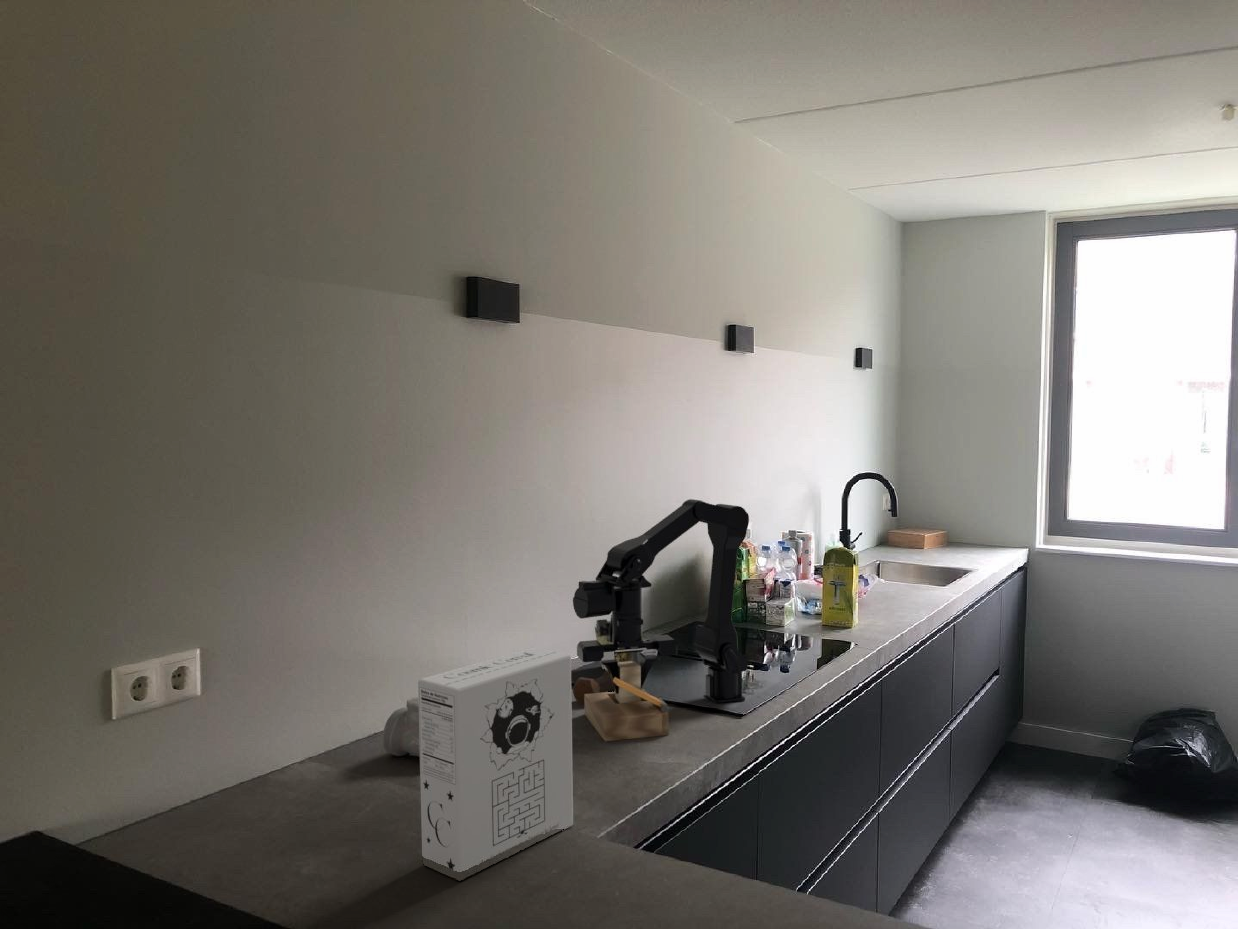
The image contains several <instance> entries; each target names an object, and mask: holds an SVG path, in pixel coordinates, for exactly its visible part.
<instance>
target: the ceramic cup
mask: <svg viewBox="0 0 1238 929" xmlns="http://www.w3.org/2000/svg"><path fill="white" fill-rule="evenodd" d="M607 622H608V623H610V622H611V620H607ZM596 625H597V623H595V625H594V632H595V638H596V639H595V640H597V641H598V642H599V643H601V644H602V645H606V644H612V642H609V641H607V640H606V636H602V637H598V636H597V629H596ZM630 648H636V647H630ZM617 649H623V648H617ZM634 657H635V652H632V653H619V654H614V659H615V660H617V661H618V662H627V661H634ZM600 664H601V663H600ZM600 666H601V668H602V670H604V669H605V671H606V670H607V668H606V666H605V665H602V664H601V665H600Z"/></svg>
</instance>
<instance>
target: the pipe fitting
mask: <svg viewBox="0 0 1238 929" xmlns="http://www.w3.org/2000/svg"><path fill="white" fill-rule="evenodd" d="M381 738H382V739H381V742H382V747H383V749H384V751H385V752H386V753H388V754H391V755H393V756H396V757H402V756H405V755H408V754H411V755H414V756H417V757H419V758H420V742H419V700H418V697H410V698H407V700H406V707H401V708H398V709H397V710H394V711H393V712H392V713H391V714H390V716H389V717H388V718H387V720H386V722H385V724H384V728H383V731H382V737H381Z"/></svg>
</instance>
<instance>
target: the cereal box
mask: <svg viewBox="0 0 1238 929" xmlns="http://www.w3.org/2000/svg"><path fill="white" fill-rule="evenodd" d="M417 689H418V690H417V693H418V694H417V696H418V700H419V742H420V757H419V774H420V775H419V776H420V780H419V781H420V817H421V818H420V819H421V856H423V857H424V858H426V859H429V860H432V861H434V862H436V863H438V864H441V865H444V866H446V867H448V868H450V869H451V870H453V871H457V872H462V871H465V870H468V869H469V868H471V867H473V866H475V865H479V864H480V863H482V862H484V861H486V860H487V859H491V858H493V857H494V856H496V855H498V854H500V853H502V852H505V851H507V850H509V849H510V848H512V847H514V846H517V845H519V844H520V843H523V842H525V841H527V840H531V839H532V838H534V837H536V836H538V835H540V834H545V833H546V832H549V831H550V830H554V829H564V830H566V829H569V828H570V827H572V826H573V825H574V799H573V798H574V796H573V795H574V792H573V791H574V789H573V788H574V786H573V783H574V782H573V727H572V726H573V721H572V720H573V717H572V715H573V714H572V713H573V712H572V656H571V655H570V654H567V653H563V652H560V651H559V652H558V651H555V650H549V649H545V648H540V647H535V646H533V647H530V648H526V649H522V650H520V651H519V650H518V651H516V652H511V653H508V654H504V655H501V656H498V657H493V658H491V659H487V660H483V661H480V662H477V663H476V662H475V663H473V664H469V665H465V666H462V667H459V668H455V669H451V670H447V671H444V672H440V673H438V674H434V675H431V676H427V677H423V678H419V680H418V681H417Z"/></svg>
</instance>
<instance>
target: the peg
mask: <svg viewBox="0 0 1238 929" xmlns="http://www.w3.org/2000/svg"><path fill="white" fill-rule="evenodd" d="M618 675H619V679H620V680H622V681H624V682H626V683H628V684H630V685H632V686H634V687H636V688H638V689H640V690H641V666H640V665H639V664H638V661H636V660H633V661H627V662H618ZM615 698H616V699H617V701H618V702H619V703H630V702H641V697H639V696H637V695H635V694H633V693H631V692H629V691H627V690H625V689H623V688H621V687H619V693H618V694H616V693H615Z"/></svg>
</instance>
